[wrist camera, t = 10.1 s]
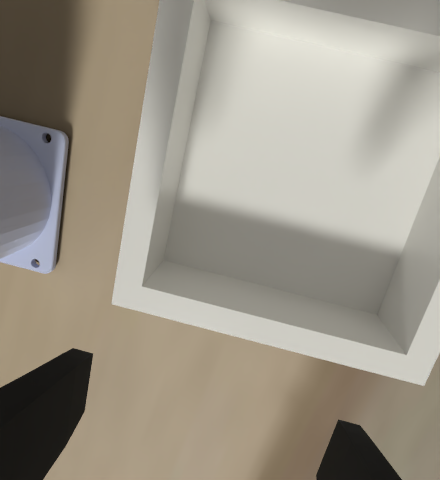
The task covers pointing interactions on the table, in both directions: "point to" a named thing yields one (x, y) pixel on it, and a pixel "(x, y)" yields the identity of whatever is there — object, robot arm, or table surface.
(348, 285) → the white square dish
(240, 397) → the table surface
